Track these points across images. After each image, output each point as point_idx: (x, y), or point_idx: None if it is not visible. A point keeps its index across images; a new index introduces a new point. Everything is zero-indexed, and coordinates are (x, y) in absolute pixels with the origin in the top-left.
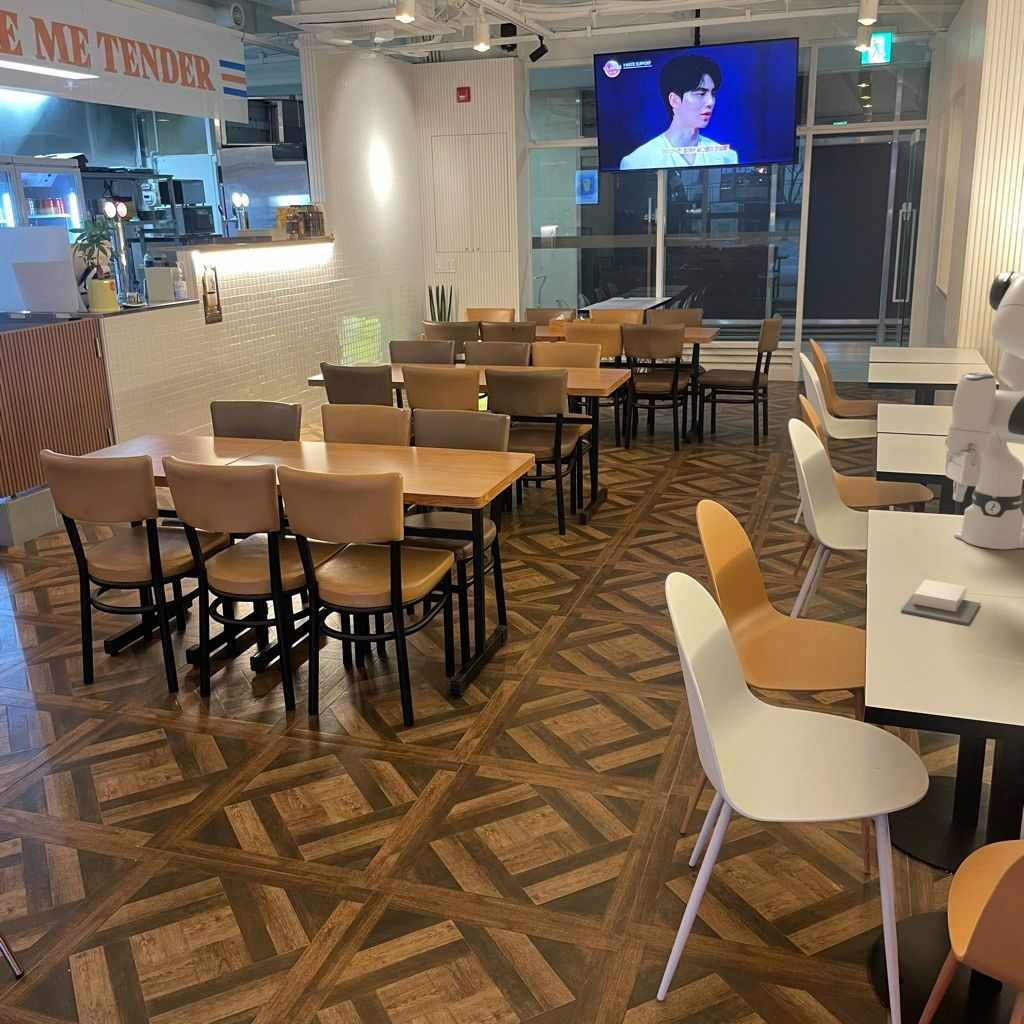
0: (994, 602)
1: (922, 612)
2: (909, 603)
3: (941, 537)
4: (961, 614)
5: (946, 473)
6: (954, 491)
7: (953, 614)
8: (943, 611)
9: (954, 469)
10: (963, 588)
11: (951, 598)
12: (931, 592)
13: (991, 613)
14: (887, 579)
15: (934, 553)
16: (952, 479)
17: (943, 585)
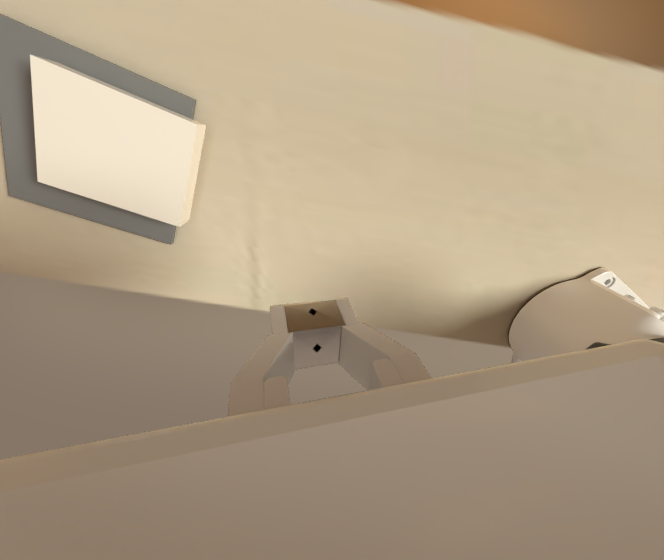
0: (211, 272)
1: (8, 82)
2: (68, 53)
3: (606, 242)
4: (61, 189)
5: (659, 357)
6: (348, 331)
7: None
8: None
9: (406, 540)
10: (159, 217)
11: (53, 170)
12: (74, 119)
13: (139, 255)
14: (302, 31)
15: (508, 209)
16: (401, 384)
17: (161, 169)
